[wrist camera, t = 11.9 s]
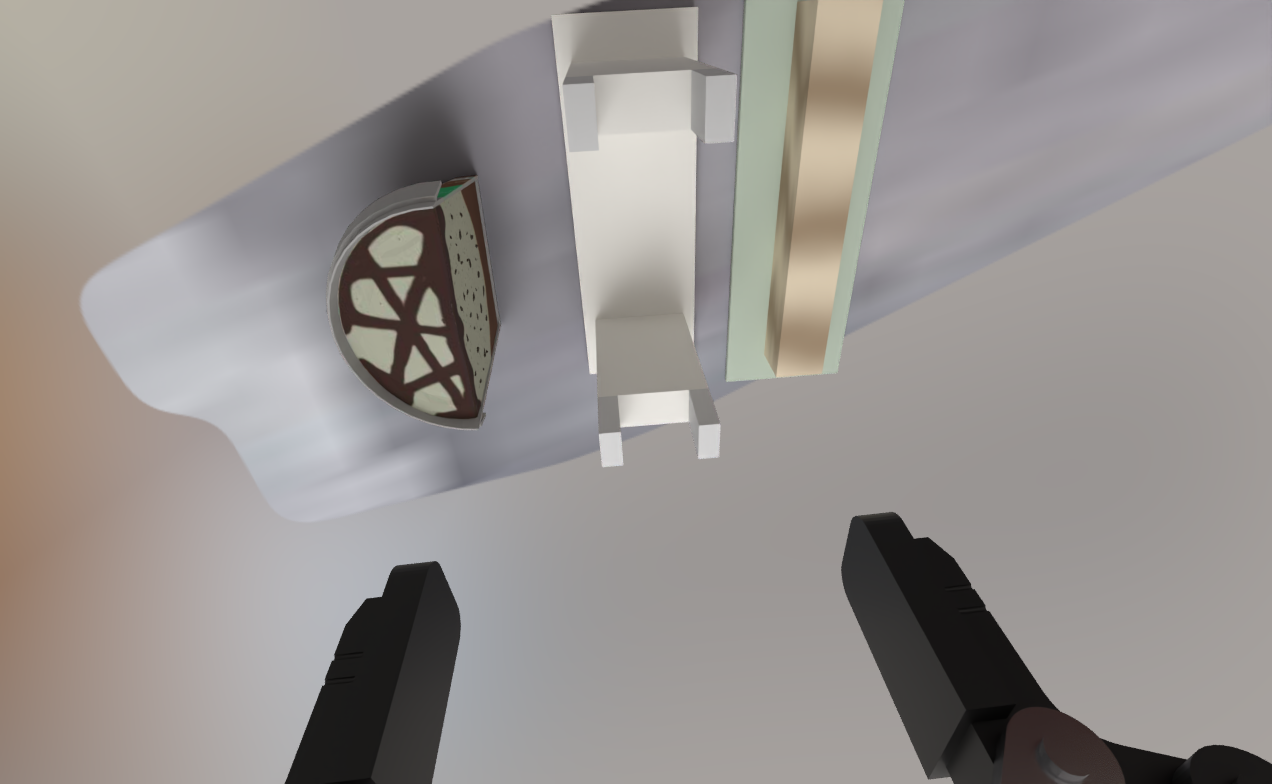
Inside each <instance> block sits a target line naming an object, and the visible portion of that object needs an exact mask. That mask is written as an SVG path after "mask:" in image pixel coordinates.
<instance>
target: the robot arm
mask: <svg viewBox="0 0 1272 784" xmlns="http://www.w3.org/2000/svg"><path fill="white" fill-rule="evenodd" d="M841 568H842V569H841V571H842V580H843V586H844V589H845V593H846V595H847V598H848V600H849V602H850V605H851V607H852V609H853V612H854V613H855V616H856V618H857V621H858V623H859V625H860V627H861V630H862V632H863V634H864V636H865V638H866V640H867V643H868V645H869V647H870V650H871V652H872V654H873V656H874V659H875V661H876V663H877V666H878V668H879V670H880V672H881V674H882V677H883V679H884V681H885V683H886V686H887V688H888V690H889V692H890V695H891V697H892V699H893V701H894V704H895V706H896V708H897V710H898V713H899V715H900V717H901V719H902V722H903V724H904V726H905V728H906V731H907V733H908V735H909V737H910V740H911V742H912V744H913V746H914V749H915V751H916V753H917V755H918V757H919V759H920V762H921V764H922V767H923V769H924V771H925V773H926V775H927V777H928V779H936V778H944V777H951V778H952V781H953V783H954V784H1272V764H1271V763H1269V762H1267V761H1265V760H1263V759H1262V758H1260V757H1258V756H1256V755H1254V754H1251V753H1249V752H1247V751H1244V750H1240V749H1238V748H1234V747H1229V746H1224V745H1211V746H1205V747H1203V748H1201V749H1199V750H1198V751H1197V752H1195V753H1194V754H1193V755H1192V756H1191V757H1190V758H1189V759H1187V760H1186V759H1182V758H1177V757H1172V756H1168V755H1164V754H1159V753H1154V752H1150V751H1145V750H1141V749H1136V748H1131V747H1127V746H1123V745H1119V744H1115V743H1112V742H1109V741H1106V740H1104V739H1101V738H1099V737H1098V736H1097V735H1096V734H1095V733H1094V732H1093V731H1091V730H1090V729H1089V728H1088V727H1087V726H1085V725H1083V724H1082V723H1081V722H1079V721H1078V720H1076V719H1074V718H1073V717H1071V716H1069V715H1067V714H1065V713H1062V712H1060V711H1059V710H1058V709H1057V708H1056V707H1055V706H1054V705H1053V704H1052V702H1051V701H1050V700H1049V699H1048V697H1047V696H1046V695H1045V694H1044V692H1043V691H1042V690H1041V688H1040V686H1039V685H1038V683H1037V682H1036V680H1035V679H1034V677H1033V676H1032V674H1031V673H1030V672H1029V670H1028V668H1027V667H1026V666H1025V664H1024V663H1023V661H1022V660H1021V658H1020V657H1019V655H1018V653H1017V652H1016V651H1015V649H1014V647H1013V646H1012V644H1011V643H1010V641H1009V640H1008V638H1007V637H1006V636H1005V634H1004V633H1003V631H1002V629H1001V628H1000V627H999V625H998V624H997V622H996V621H995V619H994V618H993V616H992V615H991V613H990V612H989V611H987V610H986V608H985V604H984V603H983V601H982V600H981V598H980V597H979V595H978V594H977V592H976V591H975V589H972V588H971V583H970V582H969V580H968V579H967V577H966V576H965V574H964V573H963V571H962V570H961V568H960V567H959V565H958V564H957V562H956V561H955V559H954V558H953V557H951V556H950V555H949V554H948V553H947V552H945V551H944V550H943V549H942V548H941V547H939V546H938V545H937V544H936V543H935V542H933V541H932V540H931V539H930V538H928V537H926V538H917V539H914V538H913V536H912V535H911V533H910V532H909V530H908V528H907V527H906V525H905V524H904V522H903V520H902V519H901V518H900V516H898V515H897V514H896V513H894V512H889V513H879V514H870V515H861V516H855V517H853V518H852V520H851V524H850V528H849V534H848V538H847V543H846V547H845V552H844V556H843V561H842V567H841ZM460 630H461V623H460V613H459V608H458V606H457V603H456V601H455V599H454V596H453V594H452V591H451V589H450V587H449V584H448V582H447V580H446V578H445V575H444V573H443V571H442V568H441V566H440V564H439V563H438V562H436V561H433V562H425V563H416V564H407V565H398V566H395V567H394V568H393V569H392V571H391V573H390V575H389V578H388V581H387V584H386V587H385V589H384V592H383V595H382V597H377V598H368V599H366V600H365V601H364V602H363V604H362V605H361V606H360V608H359V609H358V610H357V611H356V613H355V614H354V615H353V616H352V618H351V619H350V620H349V622H348V623H347V624H346V626H345V628H344V631H343V633H342V636H341V638H340V641H339V644H338V646H337V649H336V651H335V654H334V655H335V659H334V661H332V662H331V665H330V667H329V670H328V673H327V675H326V678H325V685H324V686H322V688H321V691H320V693H319V696H318V699H317V701H316V704H315V706H314V709H313V712H312V714H311V717H310V719H309V722H308V725H307V727H306V730H305V732H304V735H303V738H302V740H301V743H300V745H299V748H298V751H297V753H296V756H295V759H294V761H293V764H292V767H291V769H290V772H289V774H288V777H287V779H286V782H285V784H432V778H433V774H434V769H435V764H436V759H437V753H438V748H439V743H440V737H441V733H442V727H443V722H444V717H445V712H446V707H447V702H448V697H449V692H450V687H451V681H452V676H453V671H454V666H455V660H456V656H457V650H458V645H459V640H460Z"/></svg>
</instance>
